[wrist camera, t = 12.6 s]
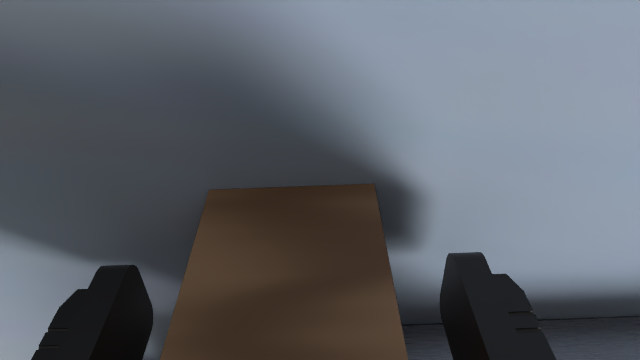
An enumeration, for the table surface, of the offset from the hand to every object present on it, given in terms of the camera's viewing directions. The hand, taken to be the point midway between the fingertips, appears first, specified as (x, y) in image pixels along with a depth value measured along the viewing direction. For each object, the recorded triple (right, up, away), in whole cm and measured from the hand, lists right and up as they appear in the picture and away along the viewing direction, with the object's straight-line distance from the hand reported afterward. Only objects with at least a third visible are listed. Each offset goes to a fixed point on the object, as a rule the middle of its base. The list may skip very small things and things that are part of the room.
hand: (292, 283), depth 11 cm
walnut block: (0, +1, +1) cm, 1 cm away
